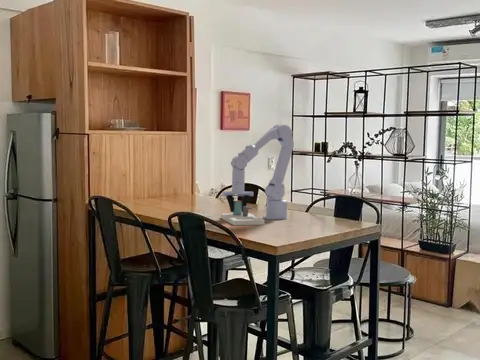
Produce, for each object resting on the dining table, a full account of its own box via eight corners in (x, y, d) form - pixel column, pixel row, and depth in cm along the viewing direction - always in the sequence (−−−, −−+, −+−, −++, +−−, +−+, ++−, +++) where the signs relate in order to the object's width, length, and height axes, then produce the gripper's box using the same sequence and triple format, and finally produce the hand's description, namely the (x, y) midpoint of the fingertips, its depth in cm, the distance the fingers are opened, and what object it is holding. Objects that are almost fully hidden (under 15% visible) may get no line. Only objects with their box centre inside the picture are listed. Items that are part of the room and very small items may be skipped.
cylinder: (240, 213, 253) (240, 200, 253) (242, 214, 249) (243, 201, 249) (231, 213, 252) (232, 200, 251) (234, 215, 248) (234, 201, 248)
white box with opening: (249, 217, 256) (249, 203, 255) (264, 224, 237) (264, 209, 236) (220, 217, 252) (221, 204, 251) (233, 225, 233) (234, 210, 232)
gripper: (250, 181, 255) (249, 210, 257) (220, 181, 251) (219, 210, 252) (255, 183, 249) (254, 212, 250) (225, 183, 244) (224, 213, 245)
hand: (237, 211), depth 251 cm, fingers open, 5 cm apart
